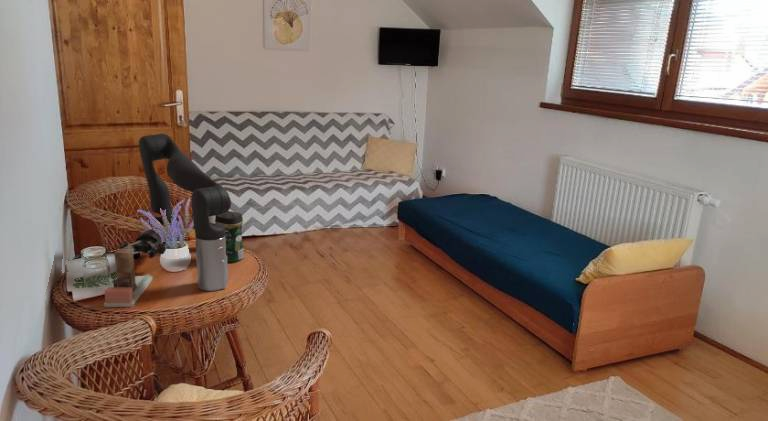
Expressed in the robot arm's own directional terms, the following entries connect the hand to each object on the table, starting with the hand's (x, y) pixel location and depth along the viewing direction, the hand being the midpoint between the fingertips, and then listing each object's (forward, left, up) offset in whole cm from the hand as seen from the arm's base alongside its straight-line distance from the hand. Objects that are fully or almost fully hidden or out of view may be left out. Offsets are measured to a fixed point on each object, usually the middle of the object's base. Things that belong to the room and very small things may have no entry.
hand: (136, 255), depth 180 cm
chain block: (0, +13, -7) cm, 15 cm away
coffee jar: (-26, -21, -9) cm, 35 cm away
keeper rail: (0, +9, -9) cm, 13 cm away
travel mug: (-17, -32, -9) cm, 37 cm away
